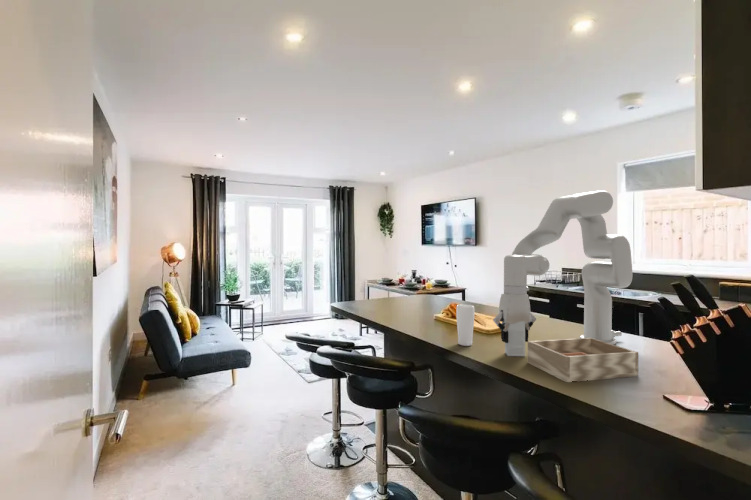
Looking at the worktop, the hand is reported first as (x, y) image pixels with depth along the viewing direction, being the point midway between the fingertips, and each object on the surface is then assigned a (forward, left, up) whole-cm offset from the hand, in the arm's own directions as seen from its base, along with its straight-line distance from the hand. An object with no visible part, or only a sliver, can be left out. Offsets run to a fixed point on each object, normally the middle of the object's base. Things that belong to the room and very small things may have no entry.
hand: (514, 341), depth 132 cm
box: (-11, +18, -5) cm, 22 cm away
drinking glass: (+11, -16, -5) cm, 20 cm away
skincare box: (0, 0, -5) cm, 5 cm away
